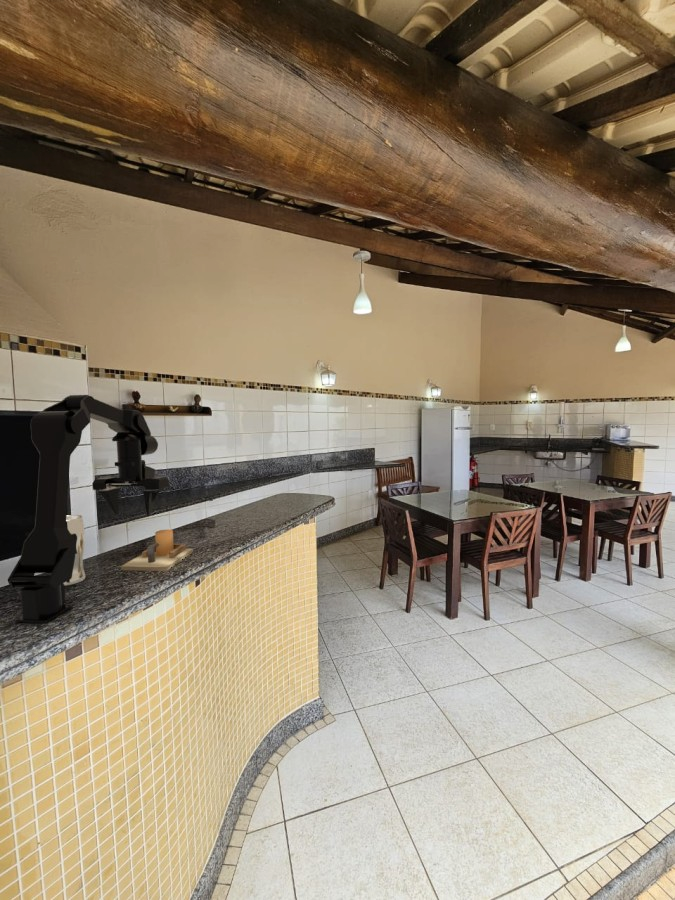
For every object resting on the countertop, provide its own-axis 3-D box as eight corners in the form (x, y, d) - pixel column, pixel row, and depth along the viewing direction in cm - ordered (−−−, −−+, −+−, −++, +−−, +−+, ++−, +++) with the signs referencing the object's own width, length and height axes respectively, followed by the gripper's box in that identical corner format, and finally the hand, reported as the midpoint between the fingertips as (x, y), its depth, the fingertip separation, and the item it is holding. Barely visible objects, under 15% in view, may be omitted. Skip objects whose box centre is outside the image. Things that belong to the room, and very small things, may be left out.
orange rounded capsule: (168, 556, 106) (167, 534, 105) (153, 555, 106) (151, 533, 106) (176, 550, 110) (175, 529, 110) (161, 550, 111) (160, 529, 110)
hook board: (166, 570, 98) (165, 550, 97) (121, 570, 99) (120, 550, 99) (192, 552, 112) (192, 534, 111) (152, 551, 113) (151, 534, 113)
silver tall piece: (69, 587, 89) (65, 522, 88) (44, 585, 90) (39, 521, 89) (94, 575, 96) (90, 514, 95) (70, 574, 97) (66, 514, 96)
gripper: (177, 454, 113) (180, 508, 114) (116, 455, 115) (119, 508, 116) (156, 458, 102) (159, 517, 103) (89, 458, 104) (92, 517, 105)
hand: (133, 514), depth 107 cm, fingers open, 9 cm apart
